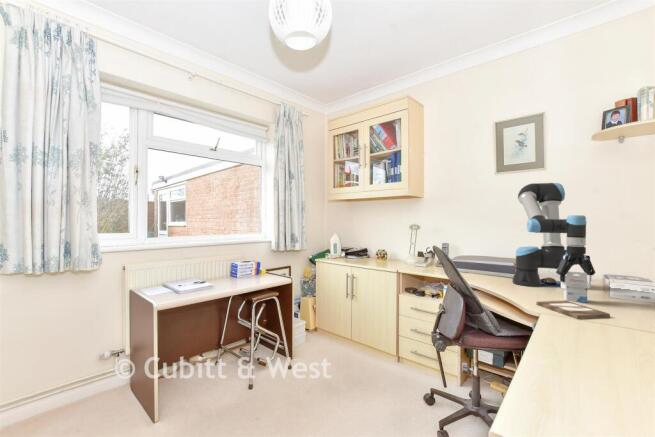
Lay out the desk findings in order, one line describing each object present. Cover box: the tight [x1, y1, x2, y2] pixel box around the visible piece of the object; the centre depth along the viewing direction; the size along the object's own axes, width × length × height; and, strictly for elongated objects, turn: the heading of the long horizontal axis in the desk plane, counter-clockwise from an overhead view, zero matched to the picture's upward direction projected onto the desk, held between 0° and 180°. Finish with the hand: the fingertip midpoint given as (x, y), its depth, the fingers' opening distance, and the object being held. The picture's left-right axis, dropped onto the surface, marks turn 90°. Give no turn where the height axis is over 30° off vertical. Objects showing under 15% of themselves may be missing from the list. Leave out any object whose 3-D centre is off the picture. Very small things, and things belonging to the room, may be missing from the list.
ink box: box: [563, 271, 588, 303], centre depth 151 cm, size 9×5×15 cm, turn 62°
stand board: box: [535, 299, 611, 320], centre depth 135 cm, size 20×16×2 cm
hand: (575, 288), depth 151 cm, fingers open, 13 cm apart
